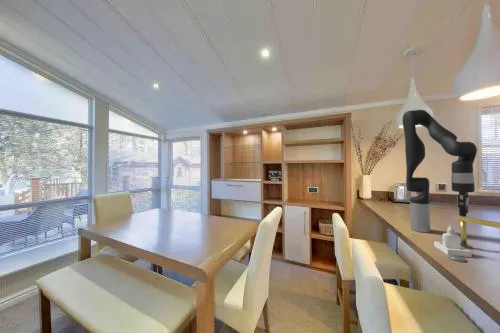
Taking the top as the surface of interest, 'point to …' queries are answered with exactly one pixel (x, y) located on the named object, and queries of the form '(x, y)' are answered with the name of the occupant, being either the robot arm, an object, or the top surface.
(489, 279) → the top surface
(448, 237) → the eye dropper bottle
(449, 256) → the grey round disc
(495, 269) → the top surface
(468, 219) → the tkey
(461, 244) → the key plate
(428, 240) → the top surface
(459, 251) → the white rectangular frame
